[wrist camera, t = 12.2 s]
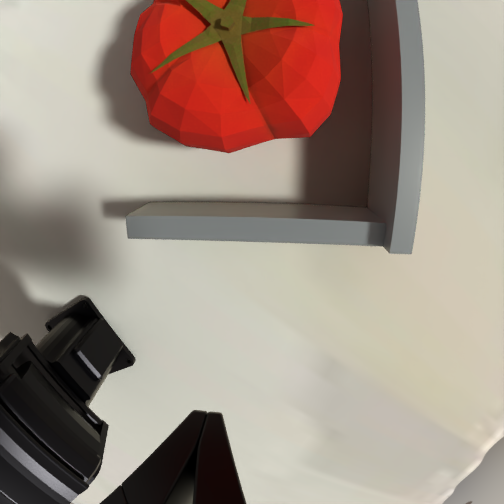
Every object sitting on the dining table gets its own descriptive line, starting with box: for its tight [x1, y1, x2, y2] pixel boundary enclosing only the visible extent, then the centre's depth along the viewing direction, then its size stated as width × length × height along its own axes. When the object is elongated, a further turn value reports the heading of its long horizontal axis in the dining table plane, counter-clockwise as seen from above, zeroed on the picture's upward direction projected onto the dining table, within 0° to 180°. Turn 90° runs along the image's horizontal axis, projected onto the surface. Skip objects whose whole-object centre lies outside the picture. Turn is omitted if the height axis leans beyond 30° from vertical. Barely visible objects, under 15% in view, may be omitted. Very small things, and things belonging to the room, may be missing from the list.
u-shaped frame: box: [126, 0, 425, 254], centre depth 13 cm, size 14×19×4 cm
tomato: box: [130, 0, 343, 153], centre depth 12 cm, size 10×11×6 cm
